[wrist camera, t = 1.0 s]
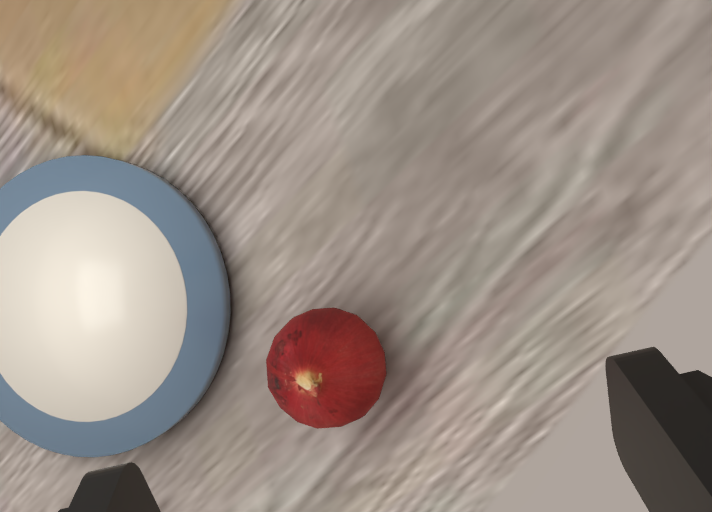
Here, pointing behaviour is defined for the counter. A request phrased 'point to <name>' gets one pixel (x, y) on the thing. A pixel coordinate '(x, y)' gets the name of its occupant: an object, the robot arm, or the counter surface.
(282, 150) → the counter surface
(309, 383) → the onion
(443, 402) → the counter surface
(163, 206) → the dish
